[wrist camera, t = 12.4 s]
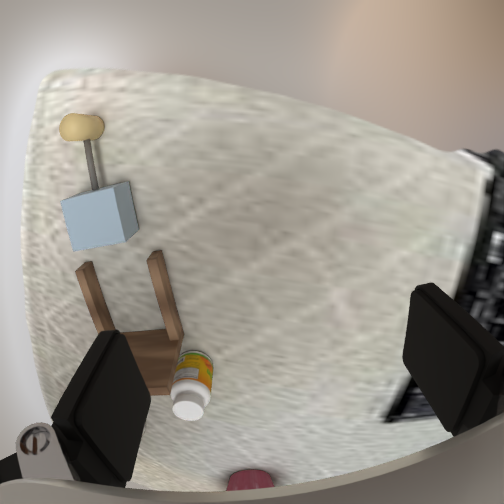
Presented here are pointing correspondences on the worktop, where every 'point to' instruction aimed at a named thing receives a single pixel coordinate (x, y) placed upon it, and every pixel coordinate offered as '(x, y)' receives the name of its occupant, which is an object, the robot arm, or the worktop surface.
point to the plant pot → (249, 480)
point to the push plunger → (96, 196)
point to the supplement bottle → (192, 385)
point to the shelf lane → (143, 342)
